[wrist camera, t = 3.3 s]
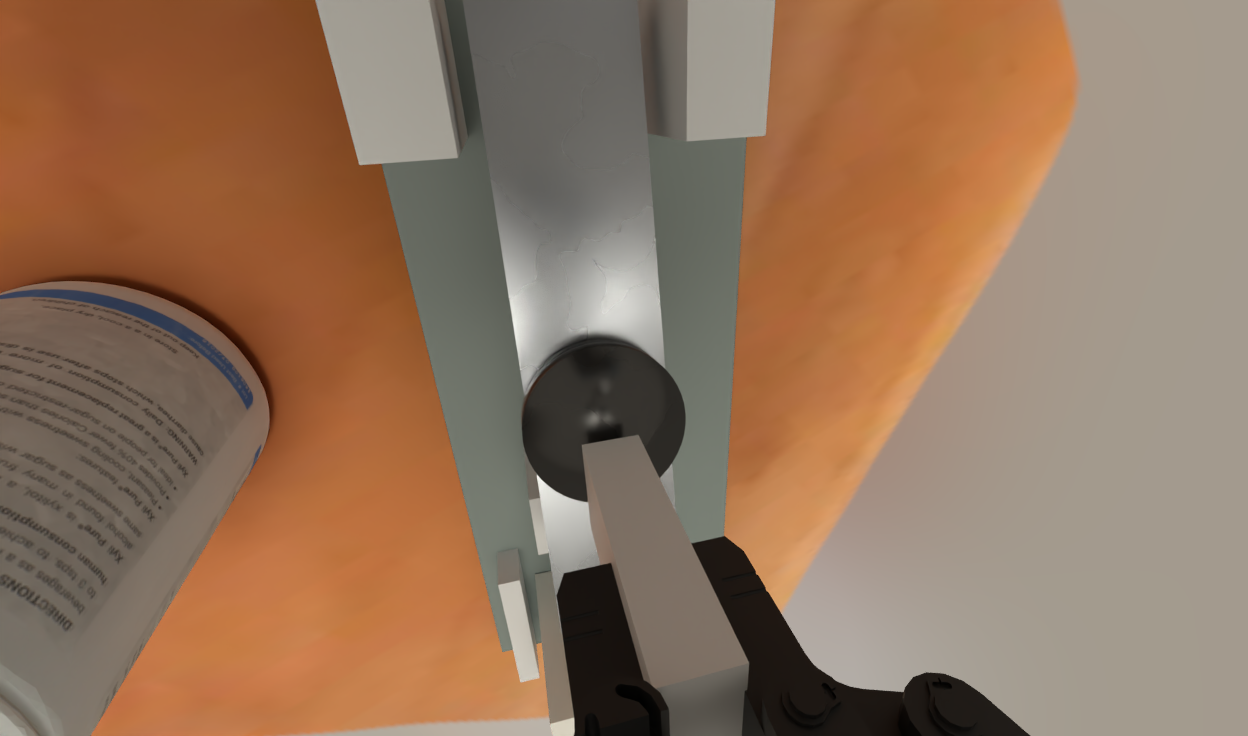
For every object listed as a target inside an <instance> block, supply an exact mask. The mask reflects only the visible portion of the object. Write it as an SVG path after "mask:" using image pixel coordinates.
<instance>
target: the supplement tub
mask: <svg viewBox="0 0 1248 736" xmlns="http://www.w3.org/2000/svg"><path fill="white" fill-rule="evenodd" d="M269 422H270V417H269V406H268V401H267V397H266V393H265V390H264V388H263V386H262V383H261V381H260V379H259V377H258V376H257V374H256V372H255V371H254V369H253V368H252V366H251V365H250V363H249V362H248V360H247V359H246V358H245V356H244V355H243V354H242V353H241V351H240V350H239V349H238V348H237V347H236V346H235V345H234V344H233V343H232V342H231V341H230V340H229V339H228V338H227V337H226V336H225V335H224V334H223V333H222V332H221V331H219V330H218V329H217V328H215V327H214V326H213V325H211V324H210V323H209V322H207V321H206V320H204V319H203V318H201V317H200V316H198V315H196V314H194V313H193V312H191V311H189V310H187V309H185V308H184V307H182V306H179V305H177V304H175V303H173V302H170V301H168V300H165V299H163V298H160V297H158V296H155V295H152V294H149V293H146V292H143V291H139V290H135V289H131V288H127V287H123V286H118V285H112V284H106V283H98V282H85V281H60V282H47V283H40V284H34V285H28V286H24V287H19V288H16V289H12V290H9V291H6V292H2V293H0V736H91V734H92V732H93V731H94V729H95V727H96V726H97V724H98V722H99V721H100V719H101V717H102V716H103V714H104V713H105V711H106V709H107V708H108V706H109V704H110V703H111V701H112V699H113V698H114V696H115V694H116V693H117V691H118V689H119V688H120V686H121V684H122V683H123V681H124V680H125V678H126V676H127V675H128V673H129V671H130V670H131V668H132V666H133V665H134V663H135V661H136V660H137V658H138V656H139V655H140V653H141V651H142V650H143V648H144V647H145V645H146V643H147V642H148V640H149V638H150V637H151V635H152V633H153V632H154V630H155V628H156V627H157V625H158V623H159V622H160V620H161V619H162V617H163V615H164V614H165V612H166V610H167V609H168V607H169V605H170V604H171V602H172V601H173V599H174V597H175V596H176V594H177V592H178V591H179V589H180V587H181V586H182V584H183V582H184V581H185V579H186V578H187V576H188V574H189V573H190V571H191V569H192V568H193V566H194V564H195V563H196V561H197V559H198V558H199V556H200V555H201V553H202V551H203V550H204V548H205V546H206V545H207V543H208V541H209V540H210V538H211V536H212V535H213V533H214V531H215V530H216V528H217V526H218V525H219V523H220V521H221V520H222V518H223V516H224V515H225V513H226V511H227V510H228V508H229V506H230V505H231V503H232V501H233V500H234V498H235V496H236V495H237V493H238V491H239V490H240V488H241V487H242V485H243V483H244V482H245V480H246V478H247V477H248V475H249V473H250V472H251V470H252V468H253V466H254V465H255V463H256V461H257V459H258V458H259V456H260V454H261V452H262V450H263V448H264V445H265V442H266V439H267V435H268V431H269Z"/></svg>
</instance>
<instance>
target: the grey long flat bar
mask: <svg viewBox="0 0 1248 736" xmlns="http://www.w3.org/2000/svg"><path fill="white" fill-rule="evenodd" d="M463 5H464V12H465V18H466V25H467V31H468V37H469V44H470V50H471V57H472V63H473V70H474V76H475V82H476V89H477V95H478V102H479V108H480V115H481V121H482V127H483V134H484V140H485V147H486V153H487V160H488V166H489V172H490V179H491V185H492V192H493V198H494V204H495V211H496V217H497V224H498V230H499V237H500V243H501V249H502V256H503V262H504V269H505V275H506V282H507V288H508V294H509V301H510V307H511V314H512V320H513V327H514V333H515V339H516V346H517V352H518V359H519V365H520V372H521V378H522V384H523V391H524V398H523V403H522V408H521V425H522V437H523V445H524V449H525V453H526V455H527V458H528V460H529V462H530V464H531V466H532V468H533V469H534V471H535V472H536V474H537V481H538V487H539V494H540V500H541V507H542V513H543V519H544V526H545V532H546V539H547V545H548V551H549V558H550V564H551V571H552V577H553V584H554V590H555V596H556V603H557V609H558V616H559V622H560V615H559V608H558V601H557V593H558V590H559V587H560V584H561V580H562V577H563V574H564V573H567V572H571V571H576V570H580V569H585V568H589V567H594V566H598V565H600V561H599V557H598V553H597V550H596V546H595V542H594V538H593V534H592V530H591V524H590V515H589V506H588V497H587V488H586V479H585V470H584V461H583V451H582V445H584V444H589V443H595V442H601V441H606V440H612V439H617V438H623V437H629V436H634V435H639V437H640V439H641V441H642V443H643V445H644V447H645V449H646V451H647V454H648V456H649V458H650V460H651V462H652V464H653V466H654V468H655V470H656V472H657V474H658V476H659V478H660V480H661V482H662V484H663V487H664V489H665V491H666V493H667V495H668V497H669V499H670V501H671V503H672V505H673V507H674V509H675V511H676V506H675V492H674V479H673V466H672V462H673V461H674V459H675V457H676V456H677V454H678V452H679V449H680V447H681V444H682V441H683V437H684V432H685V425H686V413H685V406H684V401H683V398H682V394H681V392H680V390H679V388H678V385H677V384H676V382H675V381H674V379H673V377H672V376H671V375H670V374H669V373H668V371H667V370H666V369H665V359H664V346H663V333H662V320H661V306H660V293H659V280H658V266H657V253H656V240H655V227H654V213H653V200H652V187H651V173H650V160H649V147H648V134H647V120H646V107H645V94H644V80H643V67H642V54H641V41H640V27H639V14H638V1H637V0H463ZM560 629H561V622H560ZM561 634H562V629H561Z"/></svg>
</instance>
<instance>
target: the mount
mask: <svg viewBox="0 0 1248 736" xmlns="http://www.w3.org/2000/svg"><path fill="white" fill-rule="evenodd" d="M315 1H316V4H317V8H318V12H319V16H320V19H321V23H322V27H323V31H324V34H325V38H326V42H327V46H328V49H329V53H330V57H331V61H332V64H333V68H334V72H335V76H336V79H337V83H338V87H339V91H340V94H341V98H342V102H343V106H344V109H345V113H346V117H347V121H348V124H349V128H350V132H351V136H352V139H353V143H354V147H355V151H356V154H357V158H358V162H359V165H368V164H382V168H383V172H384V176H385V180H386V184H387V188H388V192H389V196H390V200H391V204H392V208H393V212H394V216H395V220H396V224H397V228H398V232H399V236H400V240H401V244H402V248H403V252H404V257H405V261H406V265H407V269H408V273H409V277H410V281H411V285H412V289H413V293H414V297H415V301H416V305H417V309H418V313H419V317H420V321H421V325H422V329H423V333H424V337H425V341H426V345H427V349H428V353H429V357H430V362H431V366H432V370H433V374H434V378H435V382H436V386H437V390H438V394H439V398H440V402H441V406H442V410H443V414H444V418H445V422H446V426H447V430H448V434H449V438H450V442H451V446H452V450H453V454H454V458H455V462H456V467H457V471H458V475H459V479H460V483H461V487H462V491H463V495H464V499H465V503H466V507H467V511H468V515H469V519H470V523H471V527H472V531H473V535H474V539H475V543H476V547H477V551H478V555H479V559H480V563H481V567H482V572H483V576H484V580H485V584H486V588H487V592H488V596H489V600H490V604H491V608H492V612H493V616H494V620H495V624H496V628H497V632H498V636H499V640H500V644H501V648H502V652H505V651H509V650H513V651H514V656H515V660H516V664H517V669H518V673H519V677H520V682H524V681H528V680H532V679H536V678H540V677H539V666H538V655H537V645H536V644H538V643H542V640H541V630H540V620H539V610H538V601H537V591H536V581H535V574H539V573H544V572H548V571H551V564H550V558H549V551H548V545H547V539H546V532H545V526H544V519H543V513H542V507H541V500H540V494H539V487H538V481H537V474H536V472H535V471H534V469H533V468H532V466H531V464H530V462H529V460H528V458H527V455H526V453H525V449H524V445H523V437H522V425H521V408H522V403H523V398H524V391H523V384H522V378H521V372H520V365H519V359H518V352H517V346H516V339H515V333H514V327H513V320H512V314H511V307H510V301H509V294H508V288H507V282H506V275H505V269H504V262H503V256H502V249H501V243H500V237H499V230H498V224H497V217H496V211H495V204H494V198H493V192H492V185H491V179H490V172H489V166H488V160H487V153H486V147H485V140H484V134H483V127H482V121H481V115H480V108H479V102H478V95H477V89H476V82H475V76H474V70H473V63H472V57H471V50H470V44H469V37H468V31H467V25H466V18H465V12H464V5H463V0H315ZM637 1H638V14H639V27H640V41H641V54H642V67H643V80H644V94H645V107H646V120H647V134H648V147H649V160H650V173H651V187H652V200H653V213H654V227H655V240H656V253H657V266H658V280H659V293H660V306H661V320H662V333H663V346H664V359H665V369H666V370H667V371H668V373H669V374H670V375H671V376H672V377H673V379H674V381H675V382H676V384H677V385H678V388H679V390H680V392H681V394H682V398H683V401H684V406H685V413H686V425H685V432H684V437H683V441H682V444H681V447H680V449H679V452H678V454H677V456H676V457H675V459H674V461H673V462H672V466H673V479H674V492H675V506H676V513H677V515H678V517H679V520H680V522H681V524H682V526H683V528H684V530H685V532H686V534H687V536H688V538H689V540H690V542H691V543H695V542H700V541H704V540H709V539H713V538H718V537H722V536H724V523H725V505H726V488H727V470H728V453H729V435H730V418H731V400H732V383H733V365H734V348H735V330H736V313H737V295H738V278H739V260H740V243H741V225H742V208H743V190H744V173H745V155H746V138H747V137H755V136H766V122H767V108H768V94H769V81H770V67H771V53H772V39H773V25H774V12H775V0H637Z"/></svg>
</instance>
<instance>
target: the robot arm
mask: <svg viewBox="0 0 1248 736" xmlns="http://www.w3.org/2000/svg"><path fill="white" fill-rule="evenodd" d="M582 451H583V461H584V470H585V479H586V488H587V497H588V506H589V515H590V524H591V530H592V534H593V538H594V542H595V546H596V550H597V553H598V557H599V561H600V565H598V566H594V567H589V568H585V569H580V570H576V571H571V572H567V573H564V574H563V577H562V580H561V584H560V587H559V590H558V593H557V601H558V608H559V615H560V622H561V629H562V636H563V643H564V650H565V657H566V664H567V671H568V678H569V685H570V692H571V699H572V706H573V713H574V729H575V732H574V736H1030V735H1029V734H1028V733H1026V732H1025V731H1024V730H1023V729H1021V728H1020V727H1019V726H1018V725H1017V724H1016V723H1015V722H1014V721H1013V720H1011V719H1010V718H1009V717H1008V716H1007V715H1006V714H1004V713H1003V712H1002V711H1001V710H1000V709H998V708H997V707H996V706H995V705H994V704H992V702H991V701H989V700H988V699H987V698H986V697H985V696H984V695H982V694H981V693H980V692H978V691H977V690H975V689H974V688H972V687H971V686H970V685H968V684H966V683H965V682H964V681H962V680H959V679H956V678H954V677H951V676H949V675H946V674H940V673H924V674H921V675H918V676H915V677H913V678H912V680H911V681H910V682H909V683H908V685H907V686H906V687H905V690H904V692H894V691H880V690H867V689H860V688H854V687H849V686H847V685H844V684H842V683H839V682H837V681H835V680H834V679H833V678H832V677H830V676H829V675H827V674H825V673H824V672H822V671H821V670H819V669H818V668H817V667H816V666H814V665H813V663H812V662H811V661H810V659H809V658H808V657H807V655H806V654H805V653H804V651H803V649H802V648H801V646H800V644H799V643H798V641H797V639H796V638H795V636H794V634H793V633H792V631H791V629H790V628H789V626H788V624H787V623H786V621H785V619H784V618H783V616H782V614H781V613H780V611H779V609H778V608H777V606H776V604H775V603H774V601H773V599H772V598H771V596H770V594H769V593H768V592H767V591H766V589H765V586H764V584H763V583H762V581H761V579H760V578H759V576H758V575H756V571H755V569H754V568H753V566H752V564H751V563H750V561H749V559H748V558H747V556H746V554H745V553H744V551H743V550H742V549H740V548H739V547H738V546H736V545H735V544H734V543H733V542H731V541H730V540H729V539H728V538H726V537H725V536H722V537H718V538H713V539H709V540H704V541H700V542H695V543H691V542H690V540H689V538H688V536H687V534H686V532H685V530H684V528H683V526H682V524H681V522H680V520H679V517H678V515H677V513H676V511H675V509H674V507H673V505H672V503H671V501H670V499H669V497H668V495H667V493H666V491H665V489H664V487H663V484H662V482H661V480H660V478H659V476H658V474H657V472H656V470H655V468H654V466H653V464H652V462H651V460H650V458H649V456H648V454H647V451H646V449H645V447H644V445H643V443H642V441H641V439H640V437H639V435H634V436H629V437H623V438H617V439H612V440H606V441H601V442H595V443H589V444H584V445H582Z"/></svg>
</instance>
